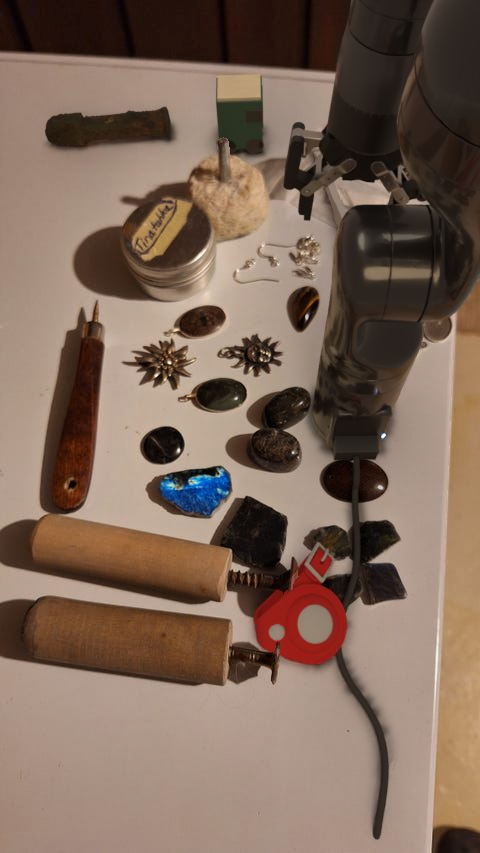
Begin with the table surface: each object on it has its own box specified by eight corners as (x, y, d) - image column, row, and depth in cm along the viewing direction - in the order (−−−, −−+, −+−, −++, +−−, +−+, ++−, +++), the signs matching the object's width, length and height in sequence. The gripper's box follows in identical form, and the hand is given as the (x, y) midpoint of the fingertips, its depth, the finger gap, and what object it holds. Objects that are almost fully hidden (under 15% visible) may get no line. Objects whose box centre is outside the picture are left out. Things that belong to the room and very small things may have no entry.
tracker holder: (362, 656, 65) (271, 679, 62) (345, 651, 69) (259, 672, 66) (338, 538, 67) (249, 555, 64) (322, 540, 71) (238, 556, 69)
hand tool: (172, 123, 98) (167, 97, 94) (172, 142, 97) (167, 116, 93) (51, 131, 99) (41, 105, 94) (49, 150, 97) (39, 125, 93)
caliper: (350, 261, 87) (357, 229, 81) (342, 262, 87) (348, 230, 81) (319, 153, 95) (323, 117, 89) (312, 154, 95) (315, 118, 89)
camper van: (263, 153, 95) (263, 98, 86) (218, 154, 95) (214, 99, 87) (263, 129, 97) (263, 72, 89) (219, 130, 97) (214, 74, 89)
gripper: (291, 104, 51) (277, 240, 65) (470, 119, 50) (415, 252, 65) (297, 42, 54) (283, 185, 69) (466, 55, 53) (414, 197, 68)
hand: (347, 218), depth 67 cm, fingers open, 8 cm apart
